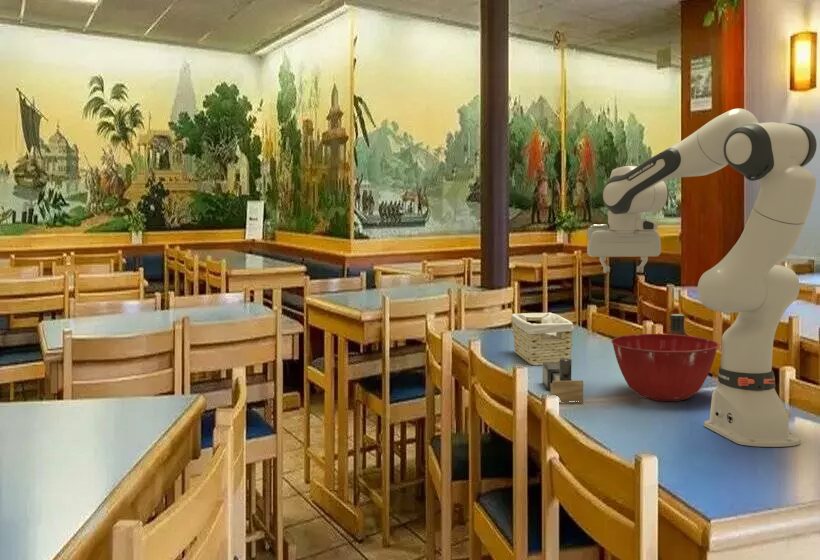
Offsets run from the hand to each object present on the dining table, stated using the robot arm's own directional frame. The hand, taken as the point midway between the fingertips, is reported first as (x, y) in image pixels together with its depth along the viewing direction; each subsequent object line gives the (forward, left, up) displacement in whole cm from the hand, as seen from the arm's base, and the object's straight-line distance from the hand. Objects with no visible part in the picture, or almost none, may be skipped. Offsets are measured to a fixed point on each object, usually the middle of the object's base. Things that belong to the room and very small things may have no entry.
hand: (623, 272), depth 211 cm
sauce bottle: (+13, -20, -34) cm, 42 cm away
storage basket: (+44, +16, -34) cm, 59 cm away
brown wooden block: (-12, +18, -34) cm, 40 cm away
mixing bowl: (-6, -10, -34) cm, 36 cm away
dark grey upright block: (-6, +18, -33) cm, 38 cm away
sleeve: (+4, +18, -34) cm, 39 cm away
